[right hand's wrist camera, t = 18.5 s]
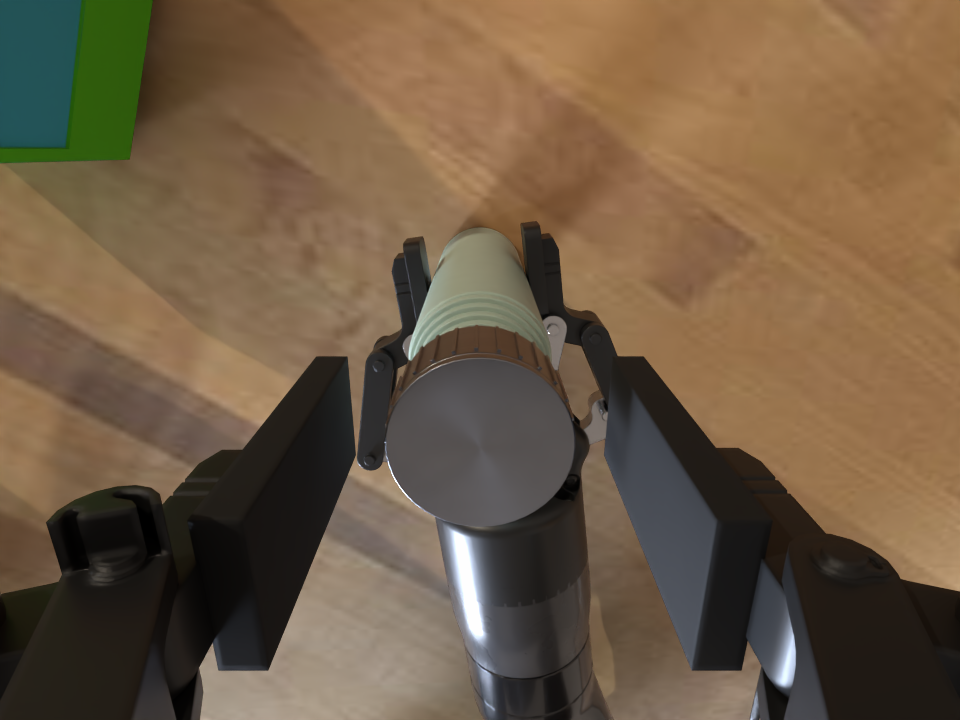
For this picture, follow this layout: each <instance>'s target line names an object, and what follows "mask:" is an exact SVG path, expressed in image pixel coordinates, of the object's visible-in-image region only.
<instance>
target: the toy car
mask: <svg viewBox="0 0 960 720" xmlns="http://www.w3.org/2000/svg"><path fill="white" fill-rule="evenodd" d="M152 3H153V0H0V163H23V162H59V161H94V160H130V153H131V146H132V139H133V133H134V126H135V119H136V112H137V105H138V99H139V92H140V85H141V78H142V71H143V64H144V58H145V51H146V44H147V37H148V30H149V23H150V17H151V10H152Z"/></svg>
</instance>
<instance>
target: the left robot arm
mask: <svg viewBox="0 0 960 720" xmlns="http://www.w3.org/2000/svg"><path fill="white" fill-rule="evenodd" d="M521 235H522V244H523V253H524V262H525V272H526V278H527V280H528V283H529V286H530V288H531V291H532V294H533V297H534V299H535V302H536V305H537V308H538V310H539V313H540V316H541V319H542V321H543V324H544V327H545V329H546V332H547V335H548V338H549V341H550V346H551V351H552V366H553V368H554V370H555V371H557V370H558V368H559V362H560V358H561V354H562V349H563V345H564V342H565V343H570V344H575V345H579V346H582V349H583V351H584V354H585V356H586V358H587V361H588V363H589V366H590V368H591V371H592V373H593V375H594V378H595V380H596V383H597V385H598V388H599V390H598V391H596V392H594V393H593V394H591V396H590V397H589V399H588V406H589V412H588V415H587V416H586V417H585V418H584V419H583V420H581V421H580V420H579V419H578V418H577V417H576V416H575V415H574V414H573V416H574V421H573V424H574V429H575V440H576V447H575V454H574V459H573V463H572V466H571V469H570V471H569V474H568V476H567V478H566V480H565V481H564V483H563V484H562V486H561V488H560V489H559V490H558V491H557V493H556V494H555V495H554V496H553V497H552V498H551V499H550V500H549V501H548V502H547V503H546V504H545V505H543V506H542V507H540V508H539V509H538V510H536V511H535V512H533V513H531V514H529V515H527V516H526V517H523V518H521V519H518V520H516V521H513V522H510V523H506V524H502V525H496V526H485V527H475V526H465V525H459V524H454V523H451V522H447V521H444V520H442V519H440V518H437V517H435V519H436V524H437V529H438V534H439V539H440V545H441V550H442V555H443V561H444V566H445V571H446V576H447V581H448V587H449V592H450V597H451V602H452V606H453V611H454V614H455V617H456V620H457V623H458V626H459V628H460V631H461V633H462V636H463V640H464V645H465V650H466V656H467V661H468V666H469V671H470V676H471V682H472V687H473V692H474V696H475V700H476V703H477V706H478V708H479V711H480V713H481V715H482V717H483V719H484V720H614V718H613V716H612V714H611V713H610V710H609V708H608V706H607V704H606V701H605V699H604V696H603V694H602V691H601V689H600V686H599V684H598V681H597V679H596V676H595V673H594V670H593V663H592V650H591V639H590V628H589V612H590V601H591V590H590V574H589V563H588V551H587V539H586V527H585V515H584V504H583V492H582V480H581V469H582V465H583V462H584V460H585V458H586V457H587V455H588V452H589V447H590V445H591V444H593V443H596V442H598V441H601V440H603V439H606V427H607V416H608V404H609V392H610V380H611V369H612V357H618V356H617V353H616V351H615V348H614V346H613V343H612V341H611V338H610V335H609V333H608V331H607V330H606V328H605V327H604V325H603V324H602V322H601V321H600V320H599V318H598V317H597V315H596V314H595V313H594V312H592V311H588V310H585V311H577V310H572V309H569V308H567V307H566V306H564V304H563V293H562V281H561V270H560V258H559V249H558V247H557V245H556V243H555V241H554V239H553V237H552V236H551V235H550V234H549V233H547V234H541V230H540V225H539V224H538V222H537V221H534V222H526V223H521ZM403 251H404V253H399V254H398V255H397V256H396V257H395V259H394V263H393V268H392V275H393V280H394V285H395V291H396V296H397V301H398V307H399V312H400V317H401V322H402V329H401V330H400V331H398V332H396V333H394V334H392V335H390V336H383V337H380V338H379V339H378V340H377V342H376V343H375V345H374V349H373V351H372V352H371V353H370V355H369V356H368V358H367V360H366V366H365V377H364V388H363V399H362V410H361V421H360V432H359V442H358V453H357V461H358V464H359V465H360V466H361V467H362V468H363V469H366V470H376V469H378V468H379V467H380V466H381V465H382V462H388V461H387V457H386V450H385V433H386V428H385V425H386V422H387V419H388V416H389V413H390V410H391V408H389V407H390V404H391V401H392V398H393V396H394V393H395V390H396V381H397V372H398V368H400V367H402V366H404V365H406V364H407V362H408V361H409V347H410V342H411V339H412V336H413V333H414V330H415V327H416V325H417V322H418V319H419V316H420V314H421V311H422V308H423V305H424V302H425V300H426V297H427V294H428V291H429V289H430V286H431V277H430V271H429V265H428V259H427V253H426V247H425V242H424V238H423V236H422V237H415V238H408V239H406V241H405V242H404V243H403Z"/></svg>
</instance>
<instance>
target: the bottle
mask: <svg viewBox="0 0 960 720" xmlns="http://www.w3.org/2000/svg"><path fill="white" fill-rule="evenodd" d="M475 325H478V326H492V327H495V326H499V328H502V329H505V330H508V331H511V332H514V333H515V332H518V334H519V335H520V336H522V337H524V338H526V339H527V340H529V341H530V342H534V343H535V344H536V346H537V347H538V348H539V349H540V350H541V351H542V352H543V353H544V355H545V356H546V355H548V356H549V358H550V361H551V364H552V351H551V346H550V341H549V338H548V335H547V332H546V329H545V327H544V324H543V321H542V319H541V316H540V313H539V310H538V308H537V305H536V302H535V299H534V297H533V294H532V291H531V288H530V286H529V283H528V280H527V278H526V275H525V272H524V269H523V267H522V264H521V261H520V258H519V256H518V253H517V251H516V249H515V247H514V245H513V244H512V243H511V241H510V240H509V239H508V238H507V237H505V236H504V235H503V234H501V233H500V232H498V231H496V230H493V229H489V228H482V227H478V228H471V229H467V230H465V231H462V232H460V233H459V234H457V235H456V236H454V237H453V238H452V239H451V240H450V241H449V243H448V244H447V245H446V247H445V249H444V251H443V253H442V256H441V258H440V261H439V264H438V267H437V269H436V272H435V275H434V278H433V280H432V283H431V286H430V289H429V291H428V294H427V297H426V300H425V302H424V305H423V308H422V311H421V314H420V316H419V319H418V322H417V325H416V327H415V330H414V333H413V336H412V339H411V342H410V347H409V360H412V359H413V357H414V356H415V355H416V354H417V353H418V352H419V349H420V347H421V346H423V347H424V346H425V345H426V344H427V343H429V342H430V341H432V340H433V339H435V338H436V336H437V335H442V334H444V333H446V332H449V331H452V330H455V328H457V327H458V328H463V327H469V326H475Z"/></svg>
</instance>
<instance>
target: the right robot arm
mask: <svg viewBox="0 0 960 720" xmlns="http://www.w3.org/2000/svg"><path fill="white" fill-rule="evenodd" d="M355 456H356V451H355V439H354V427H353V416H352V404H351V392H350V380H349V369H348V357H316V358H315V359H314V360H313V361H312V363H311V364H310V365H309V367H308V368H307V369H306V370H305V372H304V373H303V374H302V375H301V377H300V378H299V379H298V380H297V382H296V383H295V384H294V385H293V387H292V388H291V389H290V391H289V392H288V393H287V394H286V396H285V397H284V398H283V399H282V401H281V402H280V403H279V404H278V406H277V407H276V408H275V410H274V411H273V412H272V413H271V415H270V416H269V417H268V418H267V420H266V421H265V422H264V423H263V425H262V426H261V427H260V428H259V430H258V431H257V432H256V434H255V435H254V436H253V437H252V439H251V440H250V441H249V442H248V444H247V445H246V446H245V447H244V449H243V450H221V451H219V452H218V453H216V454H214V455H213V456H211V457H209V458H208V459H206V460H204V461H203V462H201V463H199V464H198V465H197V467H196V468H195V469H194V470H193V471H192V472H191V473H190V474H189V476H188V477H187V478H186V479H185V482H182V483H181V484H180V486H179V487H178V488H177V489H176V490H175V491H174V492H173V496H170V497H169V498H168V499H167V500H166V501H165V502H164V503H163V505H162V502H161V498H160V494H159V493H158V492H156V491H155V490H153V489H152V488H149V487H144V486H138V485H132V486H118V487H113V488H109V489H104V490H100V491H96V492H93V493H91V494H88V495H86V496H83V497H81V498H78V499H76V500H74V501H72V502H71V503H69V504H67V505H66V506H64V507H63V508H61V509H59V510H58V511H57V512H56V513H55V514H54V515H53V516H52V517H51V518H50V519H49V520H48V521H47V522H46V524H47V527H48V530H49V533H50V537H51V540H52V543H53V546H54V549H55V553H56V556H57V559H58V562H59V565H60V569H61V572H62V576H61V578H60V580H59V582H56V583H52V584H48V585H43V586H38V587H33V588H28V589H24V590H19V591H14V592H9V593H4V594H1V593H0V720H200V714H201V706H202V698H203V686H202V679H201V675H200V670H199V667H200V665H201V663H202V661H203V659H204V657H205V656H206V654H207V652H208V650H209V648H210V646H211V644H212V643H213V646H214V651H215V656H216V661H217V665H218V670H219V671H268V670H269V667H270V665H271V662H272V660H273V658H274V655H275V653H276V650H277V648H278V645H279V643H280V640H281V638H282V635H283V633H284V630H285V628H286V626H287V623H288V621H289V618H290V616H291V613H292V611H293V608H294V606H295V603H296V601H297V598H298V596H299V594H300V591H301V589H302V586H303V584H304V581H305V579H306V576H307V574H308V571H309V569H310V567H311V564H312V562H313V559H314V557H315V554H316V552H317V549H318V547H319V544H320V542H321V539H322V537H323V535H324V532H325V530H326V527H327V525H328V522H329V520H330V517H331V515H332V512H333V510H334V507H335V505H336V503H337V500H338V498H339V495H340V493H341V490H342V488H343V485H344V483H345V480H346V478H347V476H348V473H349V471H350V468H351V466H352V463H353V461H354V458H355ZM604 456H605V458H606V461H607V463H608V466H609V468H610V471H611V473H612V476H613V478H614V480H615V483H616V485H617V488H618V490H619V493H620V495H621V498H622V500H623V503H624V505H625V507H626V510H627V512H628V515H629V517H630V520H631V522H632V525H633V527H634V530H635V532H636V535H637V537H638V539H639V542H640V544H641V547H642V549H643V552H644V554H645V557H646V559H647V562H648V564H649V567H650V569H651V571H652V574H653V576H654V579H655V581H656V584H657V586H658V589H659V591H660V594H661V596H662V598H663V601H664V603H665V606H666V608H667V611H668V613H669V616H670V618H671V621H672V623H673V626H674V628H675V630H676V633H677V635H678V638H679V640H680V643H681V645H682V648H683V650H684V653H685V655H686V658H687V660H688V662H689V665H690V667H691V670H692V671H741V670H742V665H743V661H744V656H745V651H746V646H747V642H749V643H750V645H751V647H752V649H753V651H754V653H755V654H756V656H757V658H758V660H759V662H760V664H761V665H762V666H761V670H760V675H759V679H758V684H757V688H756V692H755V697H754V701H753V706H752V710H751V715H750V720H759V718H760V720H960V592H959V591H954V590H949V589H944V588H940V587H935V586H930V585H925V584H920V583H915V582H910V581H906V580H903V579H900V577H899V575H898V573H897V572H896V571H895V569H894V568H893V567H892V566H891V564H890V563H889V562H888V561H887V560H886V559H884V558H883V557H882V556H880V555H879V554H877V553H876V552H875V551H873V550H872V549H870V548H868V547H866V546H864V545H862V544H859V543H857V542H855V541H853V540H850V539H847V538H843V537H840V536H836V535H832V534H826V533H825V532H824V531H823V530H822V529H821V527H820V526H819V525H818V524H817V523H816V522H815V521H814V520H813V519H812V517H811V516H810V515H809V514H808V513H807V512H806V511H805V510H804V509H803V507H802V506H801V505H800V504H799V503H798V502H797V501H796V500H795V499H794V498H793V496H792V495H791V494H787V490H786V489H785V488H784V486H783V485H782V484H781V483H780V482H779V481H778V480H775V476H774V475H773V474H772V473H771V472H770V471H769V470H768V469H767V468H766V466H765V465H764V464H763V463H762V462H761V461H759V460H758V459H756V458H754V457H753V456H751V455H749V454H748V453H746V452H744V451H743V450H741V449H739V448H716V447H715V446H714V445H713V444H712V442H711V441H710V440H709V439H708V437H707V436H706V435H705V434H704V432H703V431H702V430H701V428H700V427H699V426H698V425H697V423H696V422H695V421H694V420H693V418H692V417H691V416H690V415H689V413H688V412H687V411H686V410H685V408H684V407H683V406H682V404H681V403H680V402H679V401H678V399H677V398H676V397H675V396H674V394H673V393H672V392H671V391H670V389H669V388H668V387H667V385H666V384H665V383H664V382H663V380H662V379H661V378H660V377H659V375H658V374H657V373H656V372H655V370H654V369H653V368H652V367H651V365H650V364H649V363H648V361H647V360H646V359H645V358H644V357H612V369H611V380H610V392H609V404H608V416H607V427H606V439H605V451H604Z"/></svg>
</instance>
